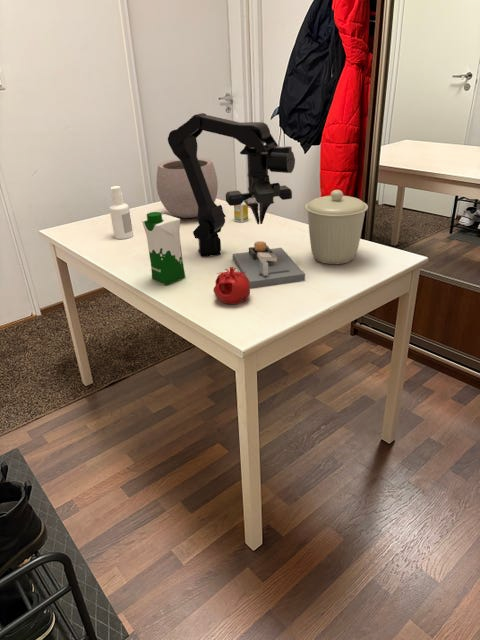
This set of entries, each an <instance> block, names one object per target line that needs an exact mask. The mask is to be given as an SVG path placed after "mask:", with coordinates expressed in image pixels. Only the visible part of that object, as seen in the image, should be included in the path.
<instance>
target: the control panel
mask: <svg viewBox="0 0 480 640" xmlns="http://www.w3.org/2000/svg"><path fill="white" fill-rule="evenodd" d="M263 253H274V254H275V255H276V256H277V261H267V263H268V276H263V275H262V274H261V272H260V271H259V258H258V257H257V254H258V252H257V251H255V249H254V246H251V247H248V251H246V252H237V253H233V254H232V261H233V263H234V264H235V266H236V267H237V269H238V272H246V273H243V274H245V276H246V277H247V278H248V280H249V285H250V289H255V288H256V289H257V288H261V287H268V286H275V285H276V286H277V285H283V284H290V283H296V282H302V281H305V280H306V273H305V272H304V271H303V270H302V269H301V268H300V267H299V265H298V264H297V263H296V262H295V261H294V260H293V259H292V257H291V256H289V255H288V253H287V252H286V251H285V250H284V249H283V247H277V248H270V247H269V246H268V245H267V244H266V251H263Z"/></svg>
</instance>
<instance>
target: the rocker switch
mask: <svg viewBox="0 0 480 640" xmlns="http://www.w3.org/2000/svg"><path fill="white" fill-rule="evenodd" d="M257 257H258V258H259V259H265V260H266V261H277V256H276V255H275V254H274V253H263V252H258V254H257Z"/></svg>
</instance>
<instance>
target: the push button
mask: <svg viewBox="0 0 480 640" xmlns="http://www.w3.org/2000/svg"><path fill="white" fill-rule="evenodd" d="M266 245H267V243H266V242H265V241H255V242H254V245H253V247H254V249H255V251H257V252H263V251H266Z"/></svg>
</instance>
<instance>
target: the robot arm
mask: <svg viewBox="0 0 480 640" xmlns="http://www.w3.org/2000/svg"><path fill="white" fill-rule="evenodd" d="M203 132H209V133H212V134H217V135H221V136H225V137H230V138H233V139H235V140H236V141H238V142H239V143H240V144H243V145H244V148H243V149H242V150H241V151H240V152H239V154H240V155H244V156H245V155H246V156H247V178H248V187H247V191H248V192H244V193H242V192H241V191H240V190H232V191H231V190H230V191H227V192H226V193H225V202H226V203H227V204H228V205H229V206H230V207H234V205H241V204H242V203H243V200H244V202H245V203H246V204H247V205H248V207H250V209H251V212H252V214H253V216H254V218H255V221H256V224H257V225H262V224H263V222H264V219H265V216H266V214H267V211H268V208H269V207H270V206H271V205H272V204H274V203H275V201H274V198H275V197H278V198H279V199H281V200H282V201H284V200H285V201H287V200H291V199H293V190H291V188H289V186H287V185H281V184H280V183H279V182H274V183H271V181H270V176H269V171H270V172H271V173H285V174H292V172H293V171H294V169H295V165H296V157H295V154H294V152H293V151H292V149H293V147H292V146H279V144H278V143H277V142H276V140H275V138H274V137H273V135H272V134H271V131H270V128H269V126H268V124H267V123H265V122H263V121H261V122H260V121H259V122H257V121H254V122H253V121H251V122H249V121H248V122H247V121H246V122H240V121H236V120H235V121H234V120H231V119H226V118H221V117H218V116H217V117H216V116H213V115H207V114H206V113H203V112H201V113H197V114H194V115H192V116H191V117H190V119H189V120H187V121H186V122H185V123H183V124H181V125H180V126H179V127H177V129H173V130H171V131H170V132H169V134H168V137H167V142H168V146H169V147H170V149H171V151H172V153H173V154H174V155H175V157H176V158H177V159H180V160H181V162H182V164H183V167H184V169H185V172H186V175H187V178H188V180H189V183H190V186H191V188H192V191H193V194H194V197H195V199H196V202H197V205H198V216H197V217H196V218H197V221H198V225H197V227H196V228H195V229H194V230H193V231H192V235H193V236H194V238H195V239H196V240H197V241H198V242H197V243H198V250H197V251H198V254H199V255H200V257H201V258H207V257H213V256H214V257H216V256H221V255H222V254H221V251H222V244H221V243H222V241H221V238H220V237H219V233H221V231H222V228H223V227H224V226H225V224H226V214H225V212H224V210H223V206H222V205H221V204H219V205H217V204H216V202H213V200H212V198H211V195H210V192H209V189H208V186H207V184H206V181H205V178H204V175H203V172H202V170H201V167H200V164H199V161H198V158H199V157H198V140H197V138H198V137H199V136H200V135H201V134H202V133H203Z"/></svg>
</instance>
